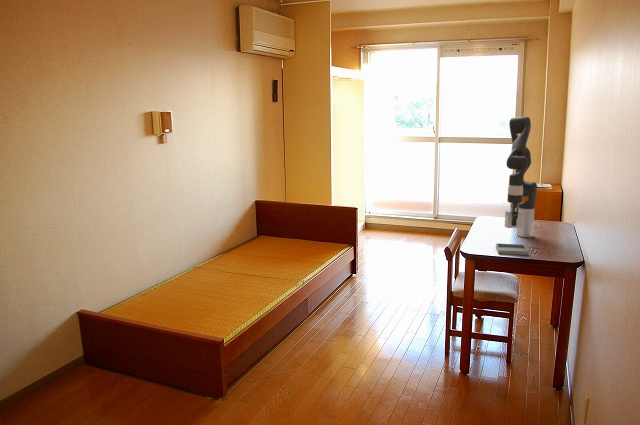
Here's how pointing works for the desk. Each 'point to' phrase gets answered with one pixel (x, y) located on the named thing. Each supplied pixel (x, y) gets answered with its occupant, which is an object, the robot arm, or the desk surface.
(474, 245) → the desk surface
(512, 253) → the tray
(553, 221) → the desk surface
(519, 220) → the medicine box
